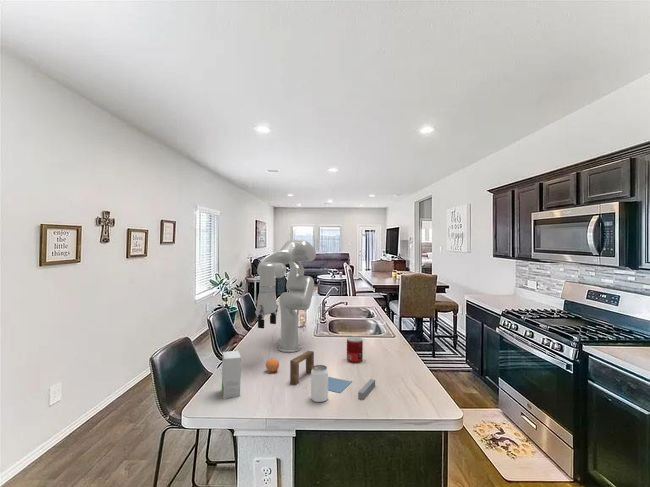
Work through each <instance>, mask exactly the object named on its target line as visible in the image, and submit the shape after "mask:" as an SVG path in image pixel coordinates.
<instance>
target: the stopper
mask: <svg viewBox="0 0 650 487" xmlns="http://www.w3.org/2000/svg"><path fill="white" fill-rule="evenodd" d="M375 387H376V379H374V378H373V379H372V378H370V379H369V380H368V381H367V382H366V383H365V384H364V385H363V386H362V387H361V389H359V391H358V393H357V399H359V400H364V399H365V398H366V397H367V396H368V395H369V393H371V391H372V390H374V388H375Z"/></svg>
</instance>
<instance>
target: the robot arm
mask: <svg viewBox="0 0 650 487" xmlns="http://www.w3.org/2000/svg"><path fill="white" fill-rule="evenodd" d="M316 257H317V251H316V249H315V247H314V246H313V245H312V244H311V243H310V242H309V241H307V240H304V239H303V240H301V239H300V240H298V239H297V240H296V239H294V240H292V239H291V240H287V241H286V242H285V243H284V244H283V245H282V247H281V248H280V249H279V250H278V251H275V252H274V253H271V254H269V255H267V256H265V257H263V259H262V260H260V262H259V263H258V265H257V269H256V273H257V275H258V276H259V293H258V295H257V300H256V301H257V303H256V310H255V311H254V313H255V317H256V320H257V328H258V329H264V328H265V319H264V318H265V316H267V315H269V324H271V325H276V324H277V315H278V314H277V312H278V311H279V310H278V309H280V339H278V338H277V339H276V341H275V344H276V345H278V347H277V350H278V351H279V352H281V353H295V352H298V351H300V350H301V348H302V347H301V345H300V344H299V317H298V313H297V312H296V310H297V311H307V310H309V309H310V307H311V304H312V299H313V294H314V289H315V281H314V279H313V277H312V276H309V275H305V268H304V266H303V265H302V264H301V262H312V261H314V260H316ZM286 265H289V273H288V276H287V279H286V280H287V281H286V284H285V287H286V290H287V291H286V292H282V293H281V294H280V296H279V297H278V298H279V300H278V302H279V304H277V296H276V295H277V294H276V292H277V291H276V290H277V289H276V281H277V280H276V279H281V278H283V277H284V276H285V275H286V273H287V266H286Z"/></svg>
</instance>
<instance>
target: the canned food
mask: <svg viewBox="0 0 650 487" xmlns="http://www.w3.org/2000/svg"><path fill="white" fill-rule="evenodd" d="M363 341H364V340H363V338H362V337H360V336H349V337H347V338H346V360H347V362H349V363H352V364H358V363H362V361H363V359H364V358H363V355H364V354H363V350H364V344H363V343H364V342H363Z"/></svg>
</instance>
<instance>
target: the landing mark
mask: <svg viewBox="0 0 650 487" xmlns="http://www.w3.org/2000/svg"><path fill="white" fill-rule="evenodd" d="M351 383H353V381H352V380H351V381H350V380H345V379H341V378H336V377H331V376H328V392H334V393H337V394H341V393H342V392H343V391H344V390H345V389H347V388H348V386H349V385H351Z"/></svg>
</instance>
